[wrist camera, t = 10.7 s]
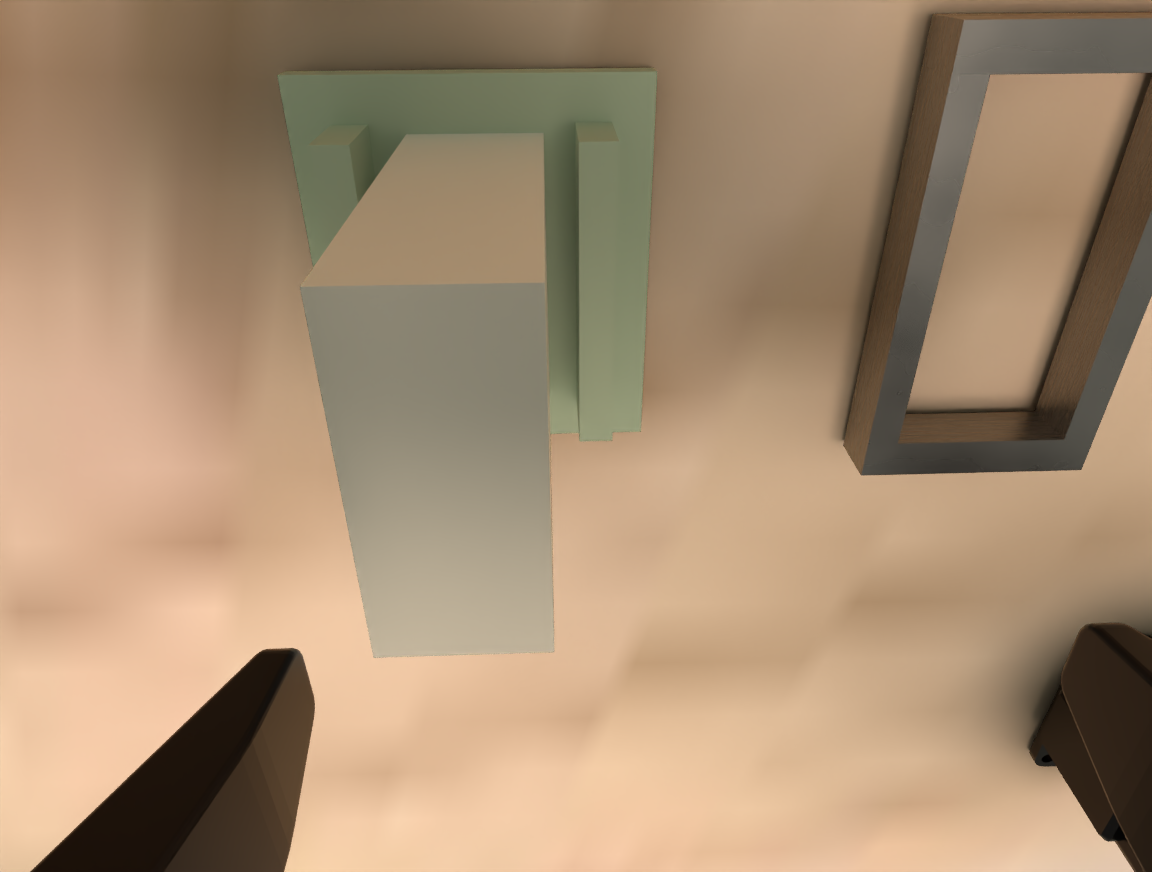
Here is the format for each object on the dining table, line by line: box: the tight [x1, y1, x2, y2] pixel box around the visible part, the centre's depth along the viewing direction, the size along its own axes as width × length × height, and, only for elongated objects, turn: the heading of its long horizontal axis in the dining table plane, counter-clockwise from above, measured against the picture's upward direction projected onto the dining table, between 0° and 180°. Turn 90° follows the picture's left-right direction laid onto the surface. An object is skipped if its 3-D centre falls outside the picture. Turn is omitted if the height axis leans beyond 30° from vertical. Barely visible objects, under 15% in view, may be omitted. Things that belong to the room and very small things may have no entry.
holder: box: [277, 68, 657, 441], centre depth 19 cm, size 8×9×3 cm
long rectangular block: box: [300, 133, 554, 658], centre depth 15 cm, size 3×6×9 cm, turn 0°
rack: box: [843, 12, 1152, 475], centre depth 19 cm, size 6×11×2 cm, turn 0°
